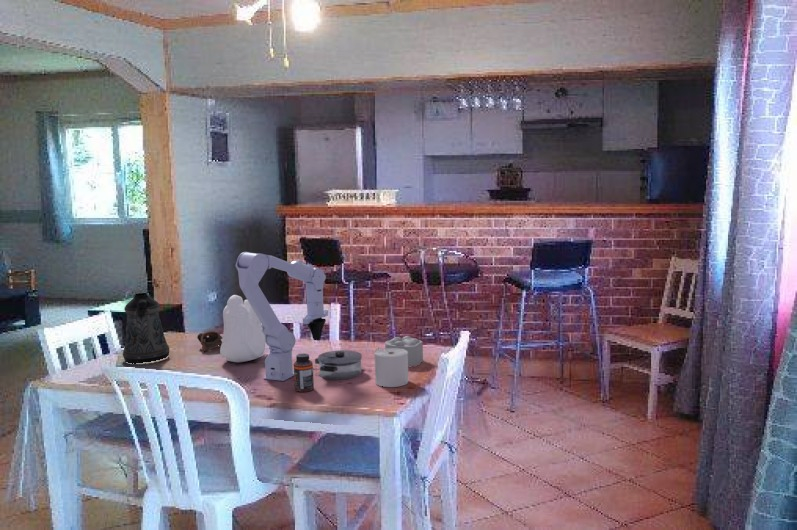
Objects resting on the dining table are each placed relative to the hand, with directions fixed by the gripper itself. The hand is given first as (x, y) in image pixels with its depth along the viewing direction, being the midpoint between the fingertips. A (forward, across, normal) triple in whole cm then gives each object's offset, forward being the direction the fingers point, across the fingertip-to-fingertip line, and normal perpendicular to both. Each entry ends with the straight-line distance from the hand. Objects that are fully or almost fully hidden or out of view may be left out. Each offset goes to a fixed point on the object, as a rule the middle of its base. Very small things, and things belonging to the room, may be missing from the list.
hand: (316, 339), depth 250 cm
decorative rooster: (+10, +2, +30) cm, 32 cm away
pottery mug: (+10, +9, +53) cm, 55 cm away
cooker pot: (+9, -6, -12) cm, 16 cm away
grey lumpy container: (+10, +13, -27) cm, 31 cm away
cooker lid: (+4, -6, -12) cm, 14 cm away
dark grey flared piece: (+10, -11, +66) cm, 68 cm away
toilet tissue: (+10, -10, -32) cm, 35 cm away
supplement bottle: (+10, -25, -9) cm, 28 cm away
